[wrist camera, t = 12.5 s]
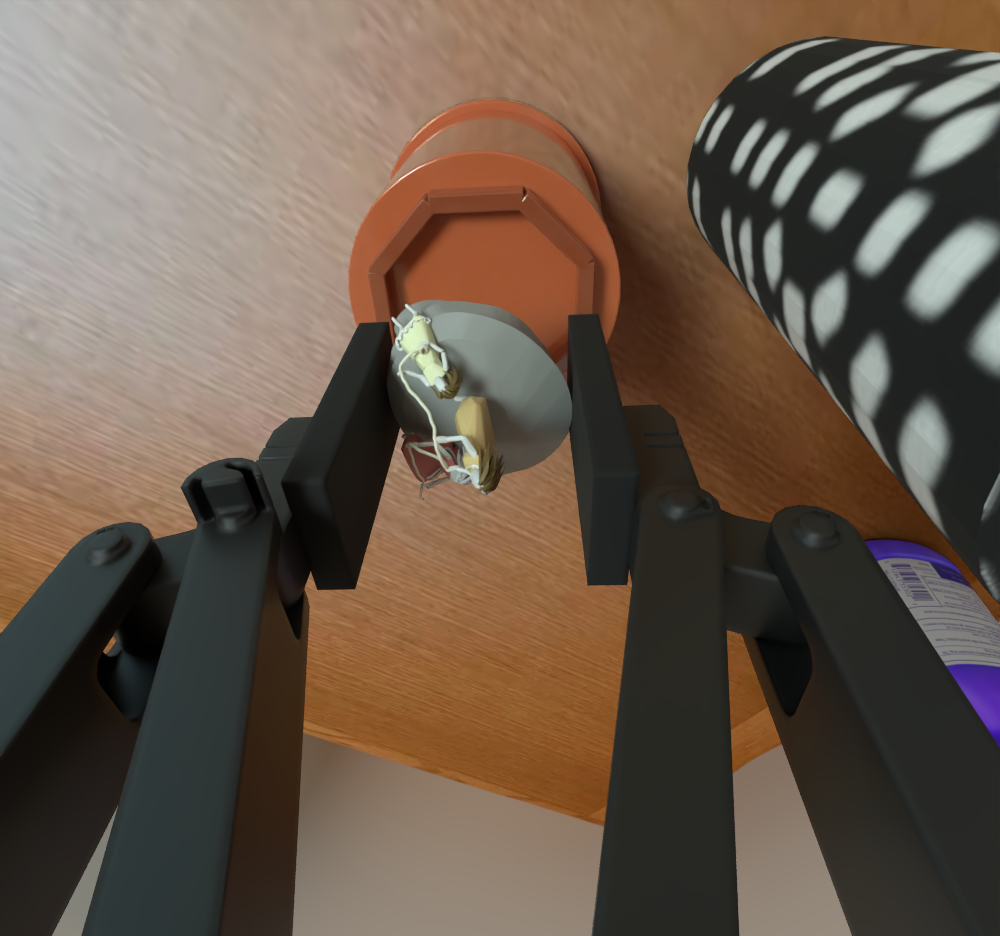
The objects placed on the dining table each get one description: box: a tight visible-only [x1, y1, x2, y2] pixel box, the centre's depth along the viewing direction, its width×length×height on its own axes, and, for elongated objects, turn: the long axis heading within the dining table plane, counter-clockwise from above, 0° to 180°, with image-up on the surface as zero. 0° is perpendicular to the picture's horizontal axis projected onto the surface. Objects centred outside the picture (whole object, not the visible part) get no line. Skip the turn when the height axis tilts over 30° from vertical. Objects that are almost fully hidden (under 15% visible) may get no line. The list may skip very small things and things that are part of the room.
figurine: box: [386, 300, 572, 500], centre depth 14 cm, size 5×4×6 cm
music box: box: [349, 98, 621, 384], centre depth 22 cm, size 9×9×10 cm
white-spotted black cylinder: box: [687, 36, 1000, 604], centre depth 16 cm, size 8×8×20 cm
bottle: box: [865, 539, 1000, 747], centre depth 31 cm, size 7×6×17 cm
